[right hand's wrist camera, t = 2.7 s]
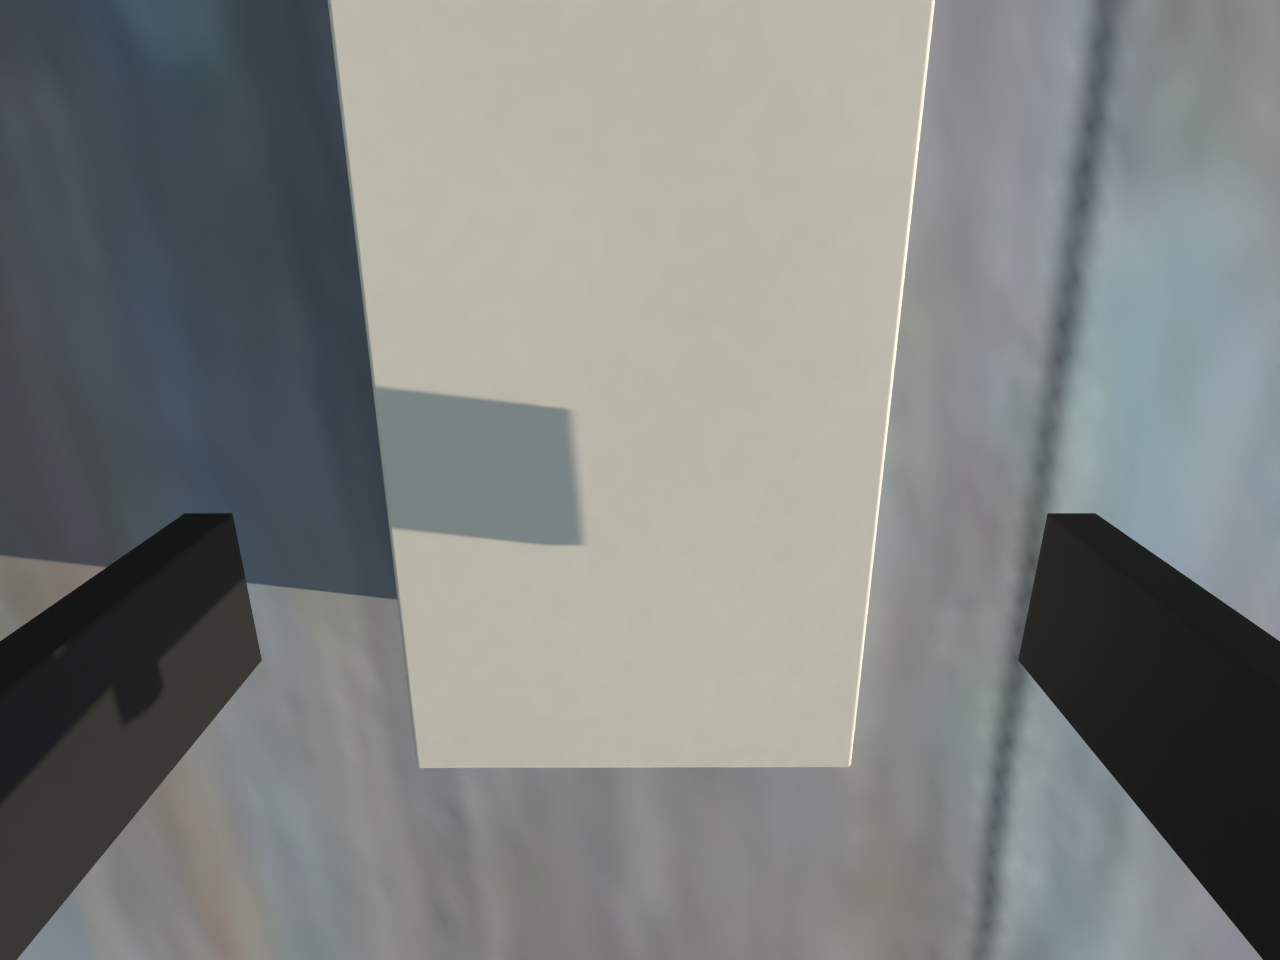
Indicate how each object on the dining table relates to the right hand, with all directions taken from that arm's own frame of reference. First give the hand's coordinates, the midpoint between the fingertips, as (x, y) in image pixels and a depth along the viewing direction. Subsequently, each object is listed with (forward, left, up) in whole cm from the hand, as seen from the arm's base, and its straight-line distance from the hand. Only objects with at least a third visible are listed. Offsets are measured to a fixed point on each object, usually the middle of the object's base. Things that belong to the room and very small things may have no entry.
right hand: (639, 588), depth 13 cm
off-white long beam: (+12, +21, -10) cm, 26 cm away
